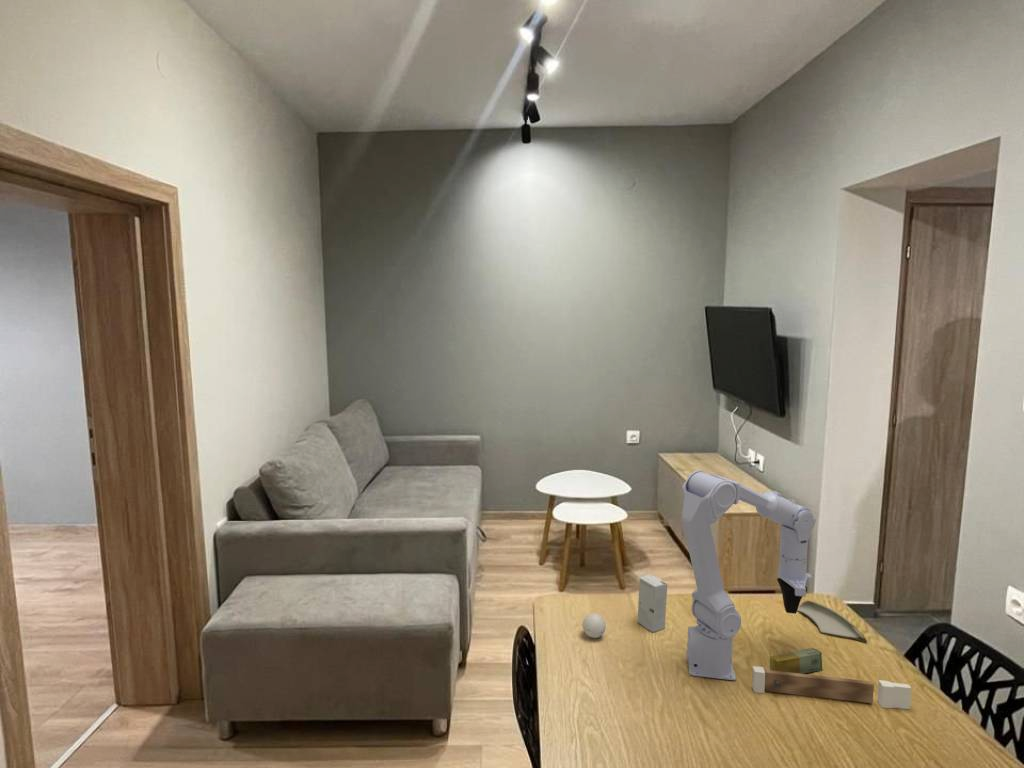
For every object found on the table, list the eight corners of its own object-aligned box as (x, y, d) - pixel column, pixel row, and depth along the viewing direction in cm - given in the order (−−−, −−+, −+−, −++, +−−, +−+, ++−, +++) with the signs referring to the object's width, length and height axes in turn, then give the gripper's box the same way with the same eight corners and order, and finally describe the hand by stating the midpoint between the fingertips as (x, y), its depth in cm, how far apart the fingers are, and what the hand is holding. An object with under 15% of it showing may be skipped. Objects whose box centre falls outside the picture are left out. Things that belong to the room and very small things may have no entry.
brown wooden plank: (766, 693, 119) (767, 675, 118) (764, 687, 121) (765, 669, 120) (874, 706, 115) (875, 687, 114) (870, 700, 116) (871, 681, 116)
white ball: (605, 630, 144) (605, 609, 143) (606, 643, 138) (606, 621, 138) (574, 629, 145) (574, 607, 144) (574, 641, 139) (574, 619, 139)
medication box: (813, 664, 129) (813, 647, 129) (823, 670, 127) (822, 652, 127) (769, 673, 126) (768, 655, 126) (778, 679, 123) (777, 660, 123)
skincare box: (636, 622, 148) (637, 576, 147) (650, 617, 150) (651, 573, 149) (653, 633, 142) (654, 586, 141) (666, 628, 145) (668, 582, 143)
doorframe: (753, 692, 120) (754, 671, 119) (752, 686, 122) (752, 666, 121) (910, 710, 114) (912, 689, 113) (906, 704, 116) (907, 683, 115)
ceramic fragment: (868, 644, 138) (868, 624, 137) (848, 650, 135) (849, 630, 135) (803, 611, 154) (803, 593, 154) (784, 616, 152) (785, 597, 151)
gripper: (822, 570, 125) (818, 629, 126) (803, 544, 139) (800, 598, 140) (786, 567, 126) (784, 626, 127) (771, 542, 140) (769, 596, 142)
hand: (790, 611), depth 134 cm, fingers closed
